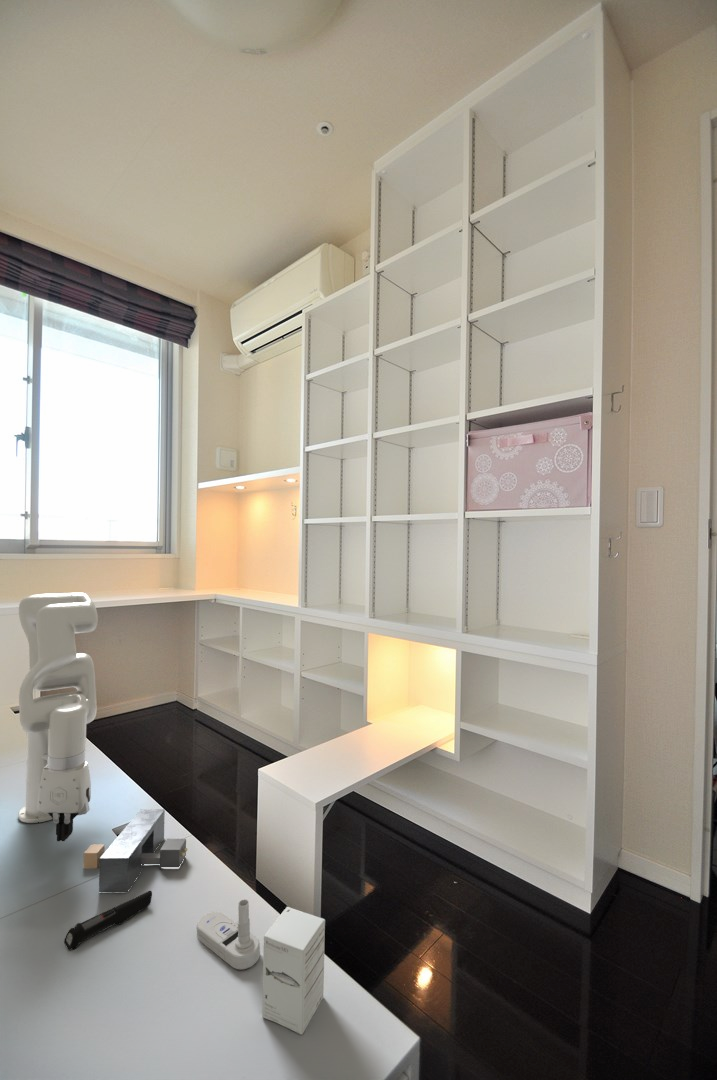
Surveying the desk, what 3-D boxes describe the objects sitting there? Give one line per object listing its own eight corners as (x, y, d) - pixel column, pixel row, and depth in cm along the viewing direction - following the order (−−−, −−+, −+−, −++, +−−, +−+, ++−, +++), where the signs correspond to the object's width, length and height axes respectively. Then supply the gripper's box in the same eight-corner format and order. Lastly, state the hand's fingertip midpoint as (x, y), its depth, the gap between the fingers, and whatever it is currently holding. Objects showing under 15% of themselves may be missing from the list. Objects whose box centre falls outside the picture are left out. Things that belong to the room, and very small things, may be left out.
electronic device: (215, 869, 97) (265, 900, 88) (215, 920, 97) (266, 957, 88) (190, 883, 93) (240, 918, 84) (191, 937, 93) (241, 978, 83)
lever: (82, 869, 111) (82, 849, 112) (92, 857, 116) (92, 838, 116) (182, 869, 112) (182, 849, 112) (188, 857, 116) (188, 838, 116)
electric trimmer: (155, 910, 100) (155, 894, 100) (69, 954, 88) (70, 935, 88) (147, 901, 102) (147, 885, 102) (63, 942, 91) (63, 924, 91)
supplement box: (260, 1019, 76) (261, 934, 76) (286, 981, 83) (287, 903, 83) (302, 1038, 73) (303, 950, 73) (325, 997, 80) (326, 917, 80)
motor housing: (98, 893, 104) (99, 858, 104) (140, 838, 124) (140, 809, 124) (127, 893, 104) (128, 858, 104) (164, 838, 124) (164, 809, 124)
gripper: (23, 765, 111) (21, 846, 111) (90, 767, 111) (87, 849, 111) (44, 751, 118) (42, 827, 118) (107, 753, 118) (104, 829, 119)
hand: (64, 837), depth 115 cm, fingers closed
